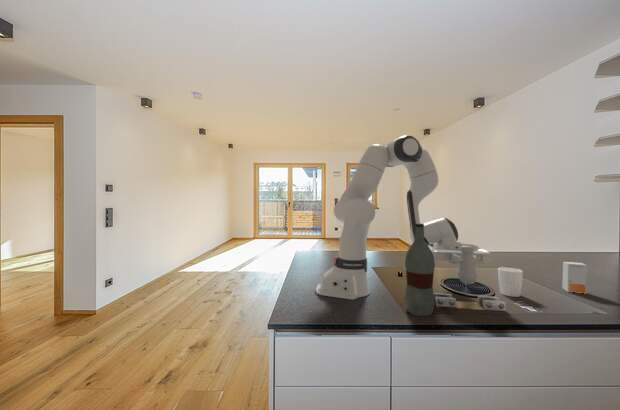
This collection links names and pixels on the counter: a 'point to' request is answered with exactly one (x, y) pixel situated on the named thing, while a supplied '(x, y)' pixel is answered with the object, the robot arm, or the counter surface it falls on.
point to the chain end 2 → (491, 303)
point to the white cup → (510, 281)
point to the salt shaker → (467, 266)
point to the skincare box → (574, 277)
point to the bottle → (419, 276)
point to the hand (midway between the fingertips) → (468, 259)
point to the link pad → (468, 305)
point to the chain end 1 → (444, 300)
